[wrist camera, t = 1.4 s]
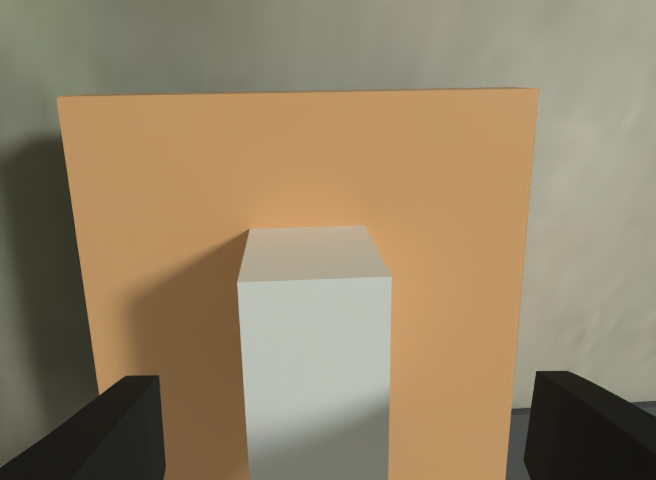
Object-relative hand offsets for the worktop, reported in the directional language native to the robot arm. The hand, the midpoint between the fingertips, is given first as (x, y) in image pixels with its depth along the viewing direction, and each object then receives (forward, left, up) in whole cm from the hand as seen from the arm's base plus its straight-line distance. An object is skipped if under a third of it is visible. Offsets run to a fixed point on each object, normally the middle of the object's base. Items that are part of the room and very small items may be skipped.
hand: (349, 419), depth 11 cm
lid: (-1, 0, -7) cm, 7 cm away
